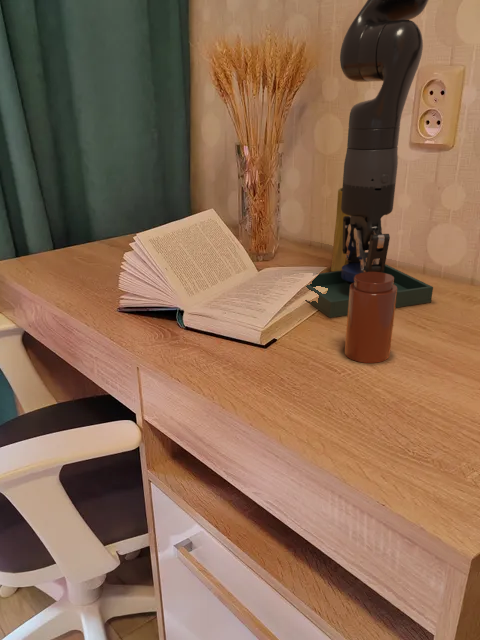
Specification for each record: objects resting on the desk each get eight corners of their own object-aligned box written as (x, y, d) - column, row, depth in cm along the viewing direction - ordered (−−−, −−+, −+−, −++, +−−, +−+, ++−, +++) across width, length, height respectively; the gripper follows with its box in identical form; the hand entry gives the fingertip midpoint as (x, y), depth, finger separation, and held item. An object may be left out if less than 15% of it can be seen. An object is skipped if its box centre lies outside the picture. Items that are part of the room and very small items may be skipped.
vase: (343, 263, 112) (349, 184, 105) (371, 269, 108) (379, 188, 101) (323, 271, 108) (328, 190, 102) (352, 278, 104) (359, 193, 98)
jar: (373, 342, 80) (380, 268, 75) (398, 358, 75) (408, 280, 71) (336, 349, 79) (341, 274, 74) (360, 366, 74) (367, 287, 69)
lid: (337, 281, 93) (338, 271, 93) (345, 270, 98) (346, 261, 97) (375, 284, 91) (376, 275, 90) (381, 273, 96) (382, 264, 95)
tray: (384, 278, 103) (386, 264, 102) (431, 302, 92) (433, 286, 91) (292, 291, 100) (293, 276, 99) (329, 318, 88) (330, 302, 87)
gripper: (329, 174, 94) (323, 277, 102) (361, 189, 81) (351, 306, 89) (376, 171, 94) (366, 274, 102) (414, 186, 82) (400, 303, 89)
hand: (359, 289), depth 95 cm, fingers closed on lid, 5 cm apart
